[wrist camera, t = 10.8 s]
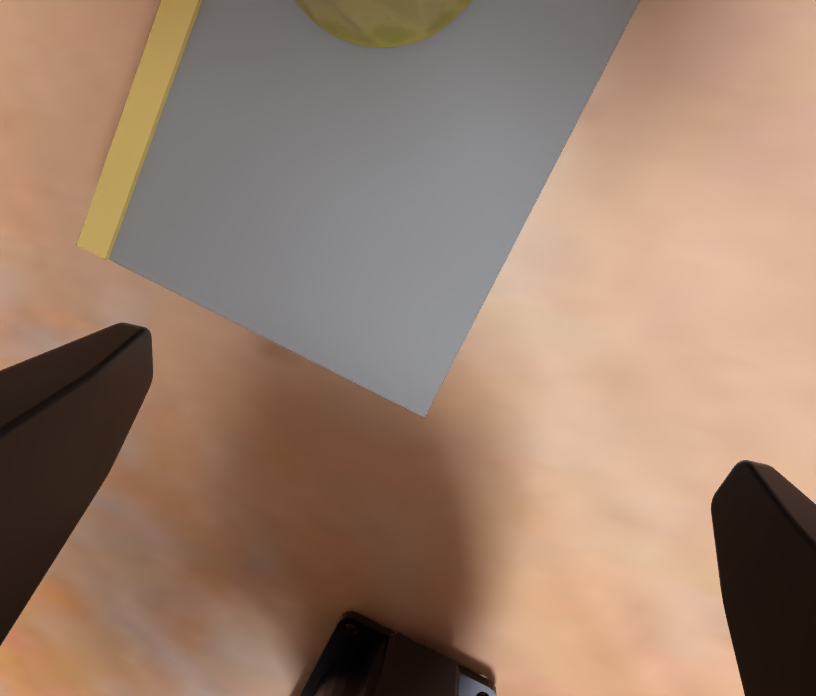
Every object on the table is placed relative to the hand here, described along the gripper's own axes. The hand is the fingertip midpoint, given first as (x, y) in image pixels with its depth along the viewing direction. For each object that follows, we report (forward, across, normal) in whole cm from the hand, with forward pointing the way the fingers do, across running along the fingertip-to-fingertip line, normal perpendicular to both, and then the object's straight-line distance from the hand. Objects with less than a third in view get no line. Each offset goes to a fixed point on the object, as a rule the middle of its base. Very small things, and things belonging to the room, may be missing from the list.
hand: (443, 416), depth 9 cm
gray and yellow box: (+14, +3, -1) cm, 14 cm away
